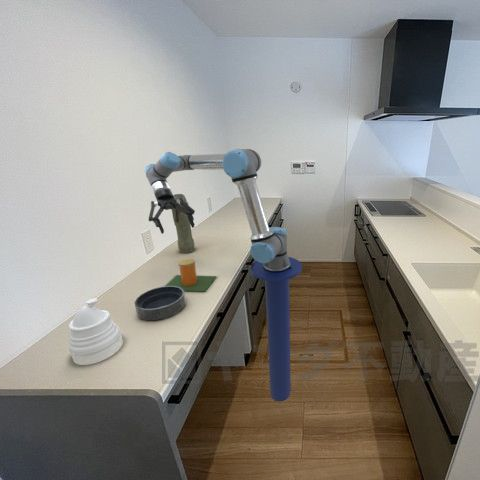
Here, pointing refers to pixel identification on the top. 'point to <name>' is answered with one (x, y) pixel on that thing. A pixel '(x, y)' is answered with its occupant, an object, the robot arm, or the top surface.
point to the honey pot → (93, 335)
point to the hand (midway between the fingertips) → (178, 229)
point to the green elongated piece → (183, 228)
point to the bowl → (160, 302)
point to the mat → (200, 286)
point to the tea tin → (188, 272)
